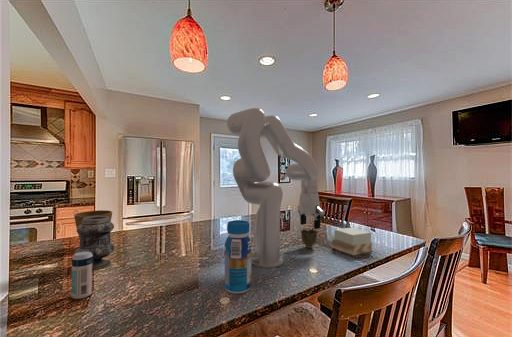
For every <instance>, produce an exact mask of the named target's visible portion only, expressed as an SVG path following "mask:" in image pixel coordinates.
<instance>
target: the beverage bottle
mask: <svg viewBox="0 0 512 337" xmlns="http://www.w3.org/2000/svg"><path fill="white" fill-rule="evenodd" d="M226 226H227V228H226V233H227V234H228V236H227V238H226V240H225V242H224V248H225V249H224V253H223V256H224V284H223V286H224V290H225V291H227V292H228V293H230V294H236V295H237V294H243V293H247V292H248V291H249V290H251V288H252V262H251V256H252V253H253V250H252V249H251V248H252V241H251V238H250V237H249V233H250V222H249V221H247V220H242V219H237V220H235V219H234V220H229V221H228V222H227V224H226Z"/></svg>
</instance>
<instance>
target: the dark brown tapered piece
mask: <svg viewBox="0 0 512 337" xmlns="http://www.w3.org/2000/svg"><path fill="white" fill-rule="evenodd" d="M300 235H301V240H302V243H303V244H304V247H305V248H306V249H308V250H312V249H313V248H314V245H315V244H316V242H317V239H318V238H317V235H318V230H314V229H308V230H307V229H304V228H303V229H302V230H300Z"/></svg>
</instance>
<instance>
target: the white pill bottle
mask: <svg viewBox="0 0 512 337" xmlns="http://www.w3.org/2000/svg"><path fill="white" fill-rule="evenodd" d="M92 268H93V255H92V253H91V252H90V251H83V252H78V253H74V254H73V256H72V258H71V291H70V292H71V293H70V298H72V299H74V300H82V299H85V298H87V297H89V296H91V294H92V293H93V270H92Z"/></svg>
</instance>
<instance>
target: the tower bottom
mask: <svg viewBox="0 0 512 337" xmlns="http://www.w3.org/2000/svg"><path fill="white" fill-rule="evenodd" d="M331 244H332V245H331V246H332V249H334V248H335V250H337V251H340V252H343V253H345V254H348V255H352V256H357V255H361V254H366V253H371V252H372V251H373V250H372V249H373V248H372V247H373V243H372V241H371V243H366V244H360V245H350V244H347V243H344V242H341V241H338V240H335V239H334V238H332V240H331Z"/></svg>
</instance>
